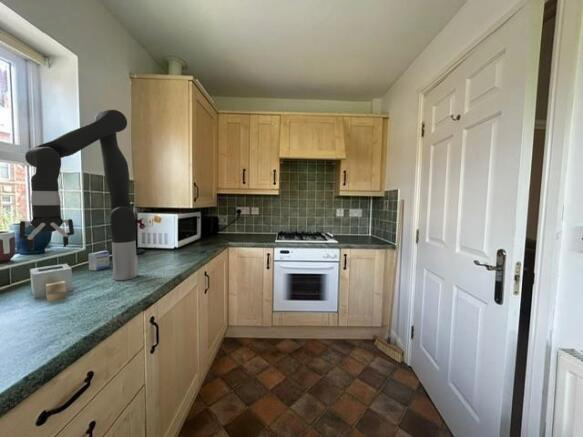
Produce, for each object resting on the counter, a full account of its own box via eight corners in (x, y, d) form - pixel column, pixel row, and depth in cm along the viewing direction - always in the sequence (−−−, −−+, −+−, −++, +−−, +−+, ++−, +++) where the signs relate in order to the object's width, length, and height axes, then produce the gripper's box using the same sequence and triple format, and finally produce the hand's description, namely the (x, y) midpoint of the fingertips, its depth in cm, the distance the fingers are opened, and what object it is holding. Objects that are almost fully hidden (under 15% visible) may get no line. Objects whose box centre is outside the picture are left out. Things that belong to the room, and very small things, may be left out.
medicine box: (96, 270, 129) (95, 254, 129) (88, 270, 130) (87, 253, 130) (109, 266, 137) (109, 250, 136) (103, 266, 138) (102, 250, 137)
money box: (67, 284, 110) (66, 263, 109) (72, 290, 102) (71, 268, 102) (31, 291, 101) (29, 268, 101) (34, 298, 94) (32, 274, 93)
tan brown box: (65, 296, 97) (64, 280, 96) (66, 298, 95) (65, 282, 94) (46, 300, 93) (45, 284, 93) (48, 302, 91) (46, 286, 91)
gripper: (71, 203, 100) (73, 244, 101) (18, 203, 90) (21, 249, 91) (73, 204, 94) (75, 247, 96) (16, 204, 84) (20, 252, 86)
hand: (49, 248), depth 93 cm, fingers open, 8 cm apart
